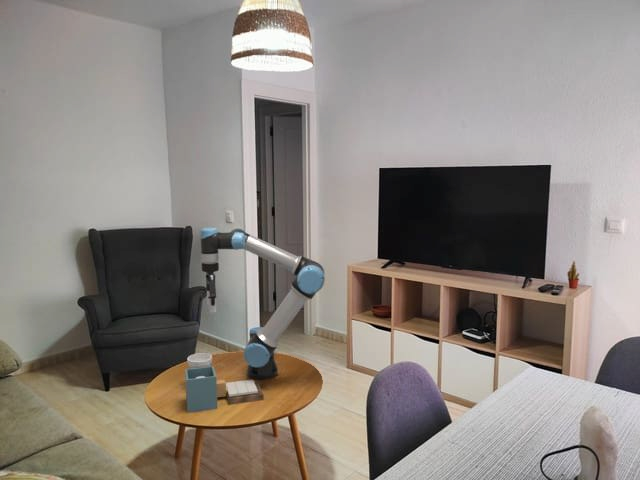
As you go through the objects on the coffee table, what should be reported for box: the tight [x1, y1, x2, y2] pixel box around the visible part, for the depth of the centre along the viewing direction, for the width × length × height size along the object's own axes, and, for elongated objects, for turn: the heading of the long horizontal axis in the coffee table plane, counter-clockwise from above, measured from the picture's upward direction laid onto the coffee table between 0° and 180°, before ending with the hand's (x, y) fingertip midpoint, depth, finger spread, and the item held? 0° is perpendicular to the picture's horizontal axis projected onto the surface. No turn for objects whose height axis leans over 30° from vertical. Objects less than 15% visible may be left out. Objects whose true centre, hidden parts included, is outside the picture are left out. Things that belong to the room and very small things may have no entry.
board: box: [225, 381, 265, 406], centre depth 219 cm, size 15×14×2 cm
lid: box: [216, 379, 258, 398], centre depth 218 cm, size 17×12×6 cm
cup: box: [186, 352, 213, 369], centre depth 227 cm, size 11×11×14 cm
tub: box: [184, 365, 218, 414], centre depth 210 cm, size 12×12×14 cm
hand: (211, 308), depth 225 cm, fingers open, 13 cm apart
